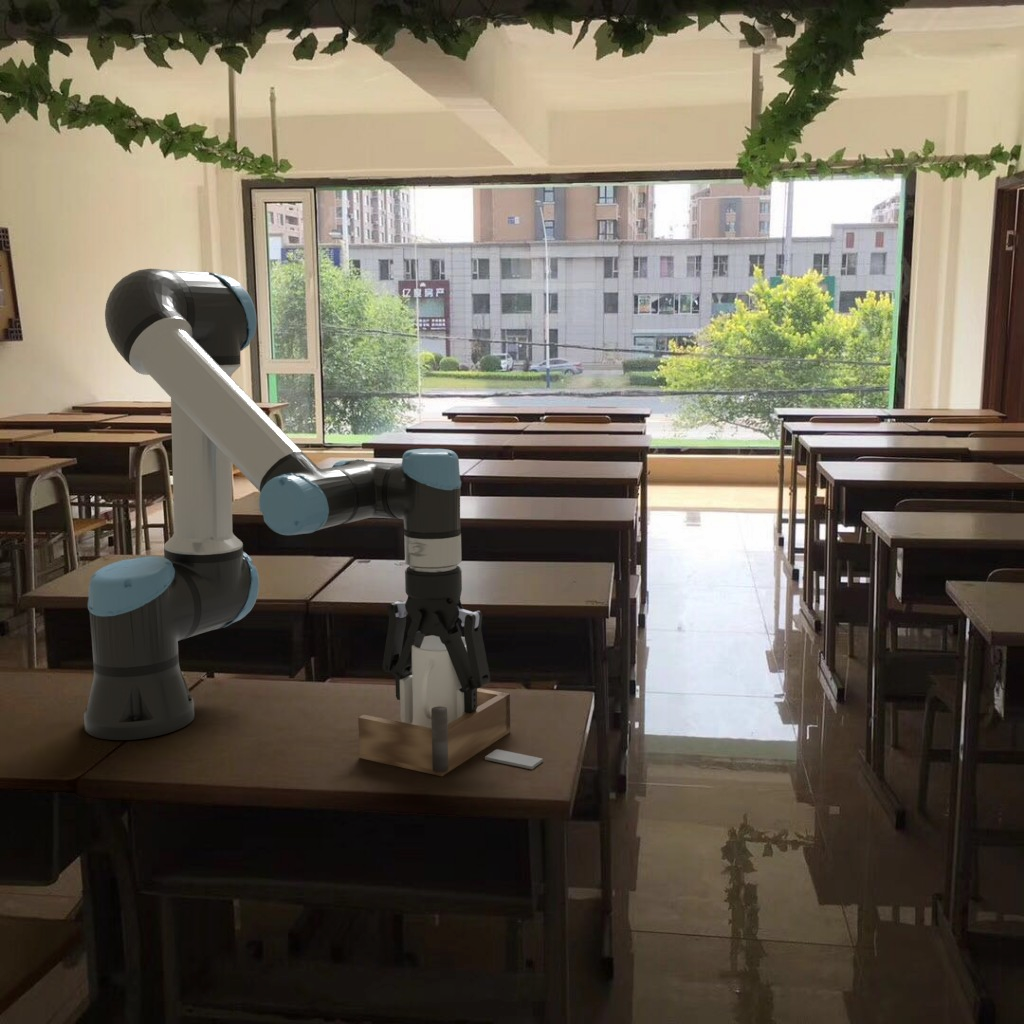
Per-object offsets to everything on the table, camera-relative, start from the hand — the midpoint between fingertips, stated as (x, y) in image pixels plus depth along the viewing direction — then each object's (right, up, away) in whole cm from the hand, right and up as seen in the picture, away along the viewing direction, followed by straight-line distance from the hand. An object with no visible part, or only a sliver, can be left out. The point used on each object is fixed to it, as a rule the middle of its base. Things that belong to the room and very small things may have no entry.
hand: (436, 728), depth 146 cm
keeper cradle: (0, -2, 0) cm, 2 cm away
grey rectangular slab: (+11, -3, -5) cm, 12 cm away
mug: (0, -1, 0) cm, 1 cm away
